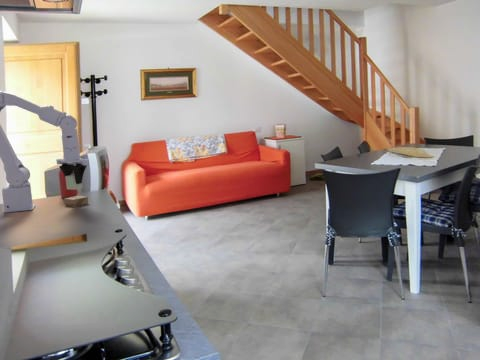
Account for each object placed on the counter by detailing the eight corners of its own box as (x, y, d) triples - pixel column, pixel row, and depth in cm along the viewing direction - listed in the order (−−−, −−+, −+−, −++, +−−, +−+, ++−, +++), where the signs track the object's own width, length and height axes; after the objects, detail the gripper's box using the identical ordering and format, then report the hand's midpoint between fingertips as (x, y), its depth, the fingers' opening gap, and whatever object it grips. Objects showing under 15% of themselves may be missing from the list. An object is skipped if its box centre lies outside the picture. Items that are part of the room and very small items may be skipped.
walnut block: (75, 207, 159) (74, 199, 159) (65, 206, 162) (64, 198, 162) (88, 204, 164) (87, 196, 164) (77, 203, 167) (77, 195, 167)
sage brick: (74, 189, 159) (73, 174, 158) (66, 189, 161) (65, 174, 160) (82, 187, 163) (81, 173, 162) (74, 187, 164) (73, 172, 164)
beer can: (61, 196, 180) (59, 168, 178) (78, 194, 182) (75, 167, 180) (60, 199, 174) (57, 170, 172) (77, 197, 176) (74, 169, 174)
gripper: (93, 147, 160) (96, 182, 162) (65, 146, 166) (68, 180, 168) (79, 148, 154) (82, 185, 156) (50, 148, 160) (54, 183, 162)
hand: (74, 183), depth 162 cm, fingers closed on sage brick, 4 cm apart
